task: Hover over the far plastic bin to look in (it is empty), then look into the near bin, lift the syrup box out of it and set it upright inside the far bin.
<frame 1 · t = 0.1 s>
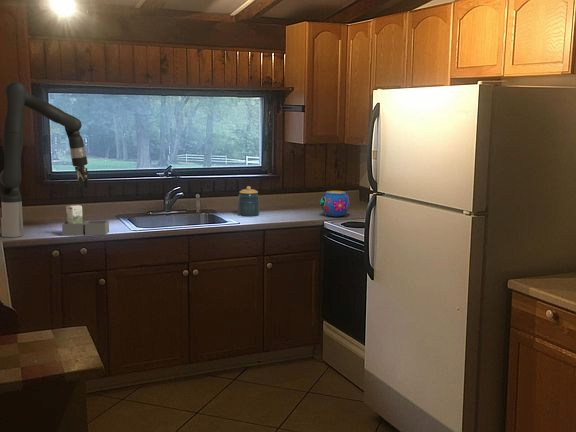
hand: (84, 186, 340), 22 cm above the countertop, tool pointing down, fingers open, 8 cm apart
bin far: (97, 233, 331), on the countertop
canister: (248, 215, 396), on the countertop
syrup box: (75, 234, 330), resting in bin near
ceramic pot: (335, 216, 394), on the countertop
bin near: (75, 233, 330), on the countertop
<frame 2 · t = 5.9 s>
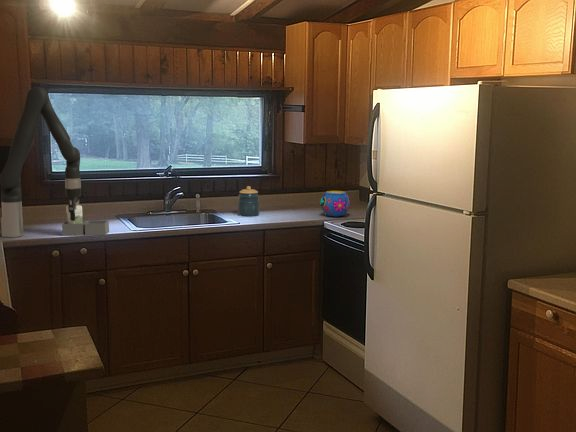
hand: (74, 219, 329), 8 cm above the countertop, tool pointing down, fingers open, 8 cm apart
nothing on the countertop moved.
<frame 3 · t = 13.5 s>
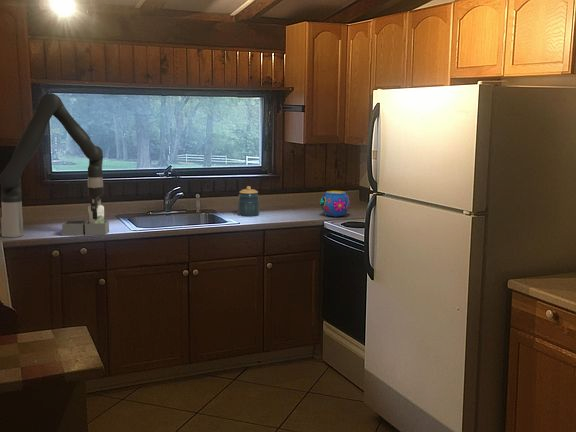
hand: (96, 217, 330), 8 cm above the countertop, tool pointing down, fingers open, 8 cm apart
syrup box: (96, 234, 331), resting in bin far
everything else where it was.
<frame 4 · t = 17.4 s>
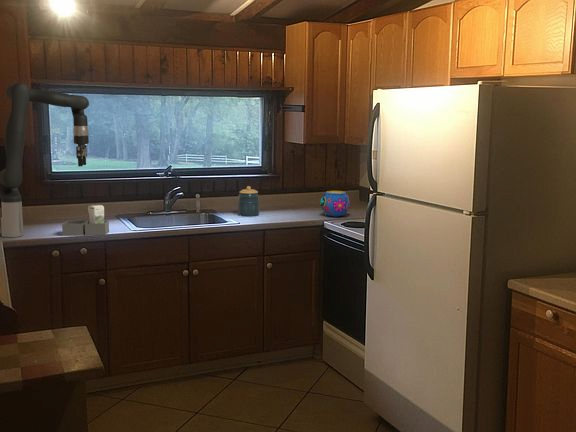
hand: (82, 165, 343), 33 cm above the countertop, tool pointing down, fingers open, 8 cm apart
nothing on the countertop moved.
at the end: syrup box 0.2 cm off-centre on the bin far, point 0.0 cm above the bin far's base; syrup box tilted 0°; the gripper is holding nothing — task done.
